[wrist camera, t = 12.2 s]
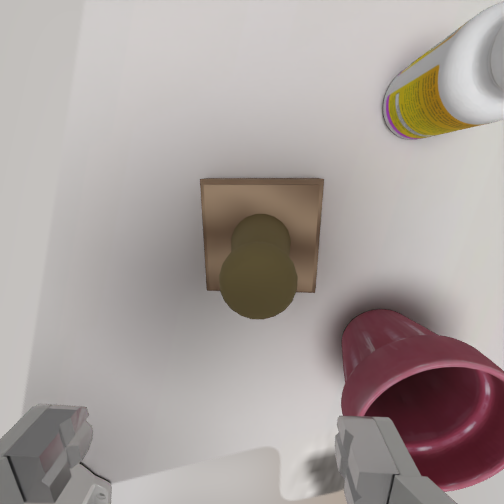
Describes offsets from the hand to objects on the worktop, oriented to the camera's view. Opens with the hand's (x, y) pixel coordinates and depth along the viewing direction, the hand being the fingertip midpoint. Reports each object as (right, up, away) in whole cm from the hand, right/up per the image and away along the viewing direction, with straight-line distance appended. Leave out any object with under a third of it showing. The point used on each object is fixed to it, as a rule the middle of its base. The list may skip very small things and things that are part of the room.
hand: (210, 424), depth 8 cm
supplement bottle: (+17, +20, +17) cm, 32 cm away
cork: (+2, +7, +18) cm, 19 cm away
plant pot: (+17, -6, +25) cm, 31 cm away
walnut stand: (+2, +8, +21) cm, 23 cm away
